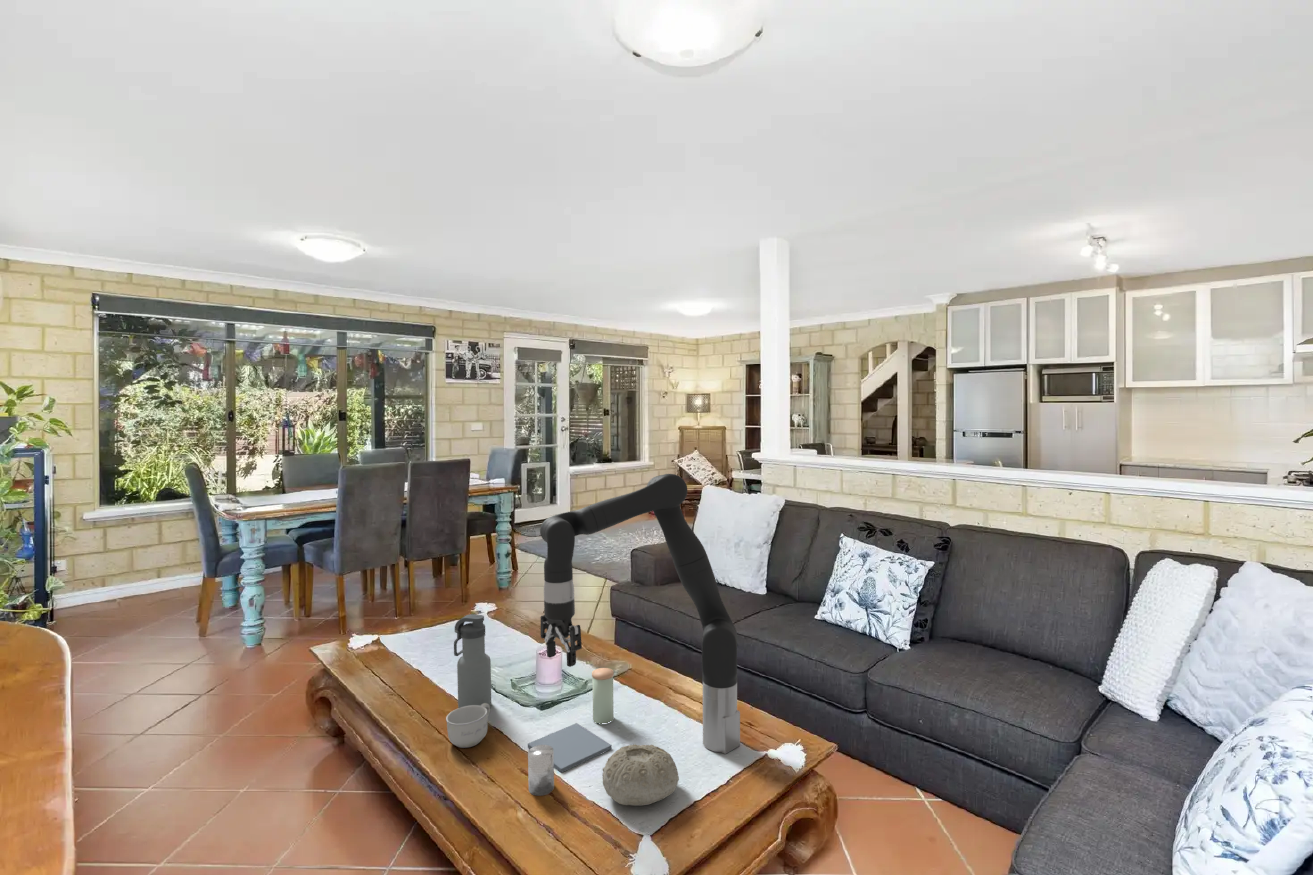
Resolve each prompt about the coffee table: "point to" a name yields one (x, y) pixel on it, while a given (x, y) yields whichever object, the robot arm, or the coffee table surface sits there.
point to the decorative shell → (640, 775)
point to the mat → (572, 746)
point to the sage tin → (603, 695)
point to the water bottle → (472, 662)
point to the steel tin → (541, 770)
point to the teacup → (468, 725)
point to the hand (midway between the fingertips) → (561, 661)
